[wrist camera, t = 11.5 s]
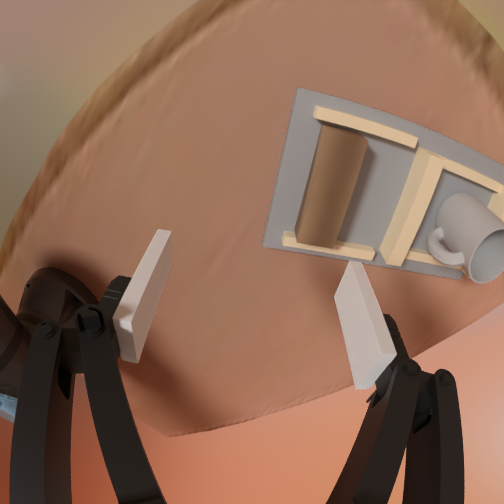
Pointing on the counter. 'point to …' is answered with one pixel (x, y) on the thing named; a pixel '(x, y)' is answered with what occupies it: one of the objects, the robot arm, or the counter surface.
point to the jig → (380, 185)
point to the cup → (468, 237)
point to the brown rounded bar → (329, 186)
